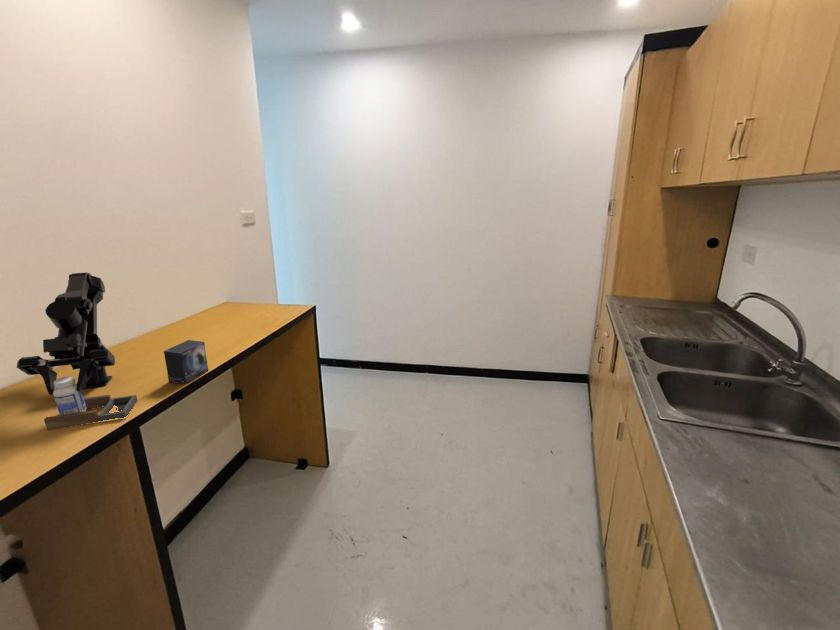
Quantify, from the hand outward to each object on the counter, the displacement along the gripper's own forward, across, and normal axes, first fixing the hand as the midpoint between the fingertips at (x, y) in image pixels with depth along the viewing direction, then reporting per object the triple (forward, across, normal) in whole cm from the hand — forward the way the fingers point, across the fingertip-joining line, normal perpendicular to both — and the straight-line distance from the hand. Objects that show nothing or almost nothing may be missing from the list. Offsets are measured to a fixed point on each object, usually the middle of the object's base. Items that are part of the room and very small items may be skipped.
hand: (64, 392), depth 101 cm
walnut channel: (+5, +2, +6) cm, 8 cm away
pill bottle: (+4, 0, +6) cm, 7 cm away
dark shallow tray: (+5, +10, +6) cm, 13 cm away
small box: (-7, +24, +19) cm, 32 cm away
